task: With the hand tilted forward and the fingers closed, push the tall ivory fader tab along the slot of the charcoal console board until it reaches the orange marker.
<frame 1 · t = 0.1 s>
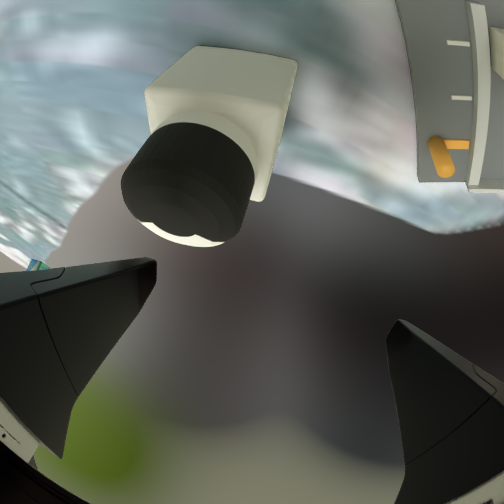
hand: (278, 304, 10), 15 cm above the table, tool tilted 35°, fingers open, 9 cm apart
milk carton: (44, 266, 83), on the table
console: (486, 43, 8), on the table
medicine bottle: (241, 90, 18), on the table
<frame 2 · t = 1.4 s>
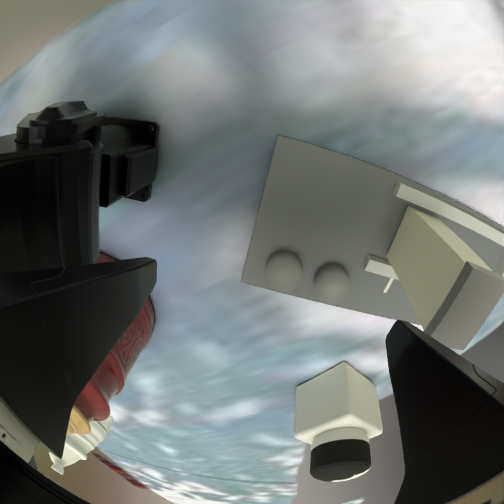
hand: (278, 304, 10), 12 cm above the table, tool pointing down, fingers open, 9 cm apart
honey pot: (87, 404, 45), on the table
console: (398, 253, 21), on the table
fader tab: (437, 268, 15), point 6 cm above the table, slide at 0.0 cm
canister: (107, 298, 28), on the table
medicine bottle: (336, 385, 30), on the table
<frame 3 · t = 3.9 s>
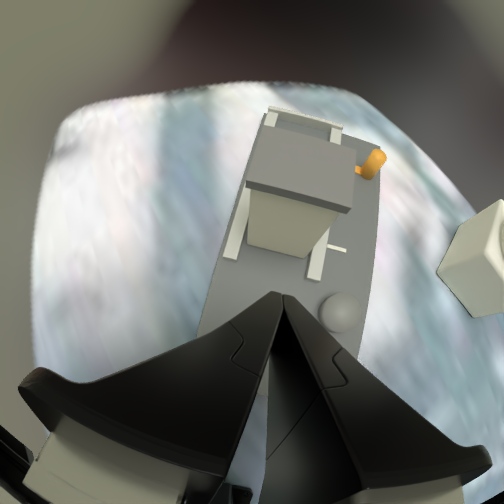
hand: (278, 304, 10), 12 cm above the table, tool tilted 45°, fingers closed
console: (302, 243, 22), on the table
fader tab: (290, 206, 17), point 6 cm above the table, slide at 0.0 cm
medicine bottle: (466, 271, 23), on the table
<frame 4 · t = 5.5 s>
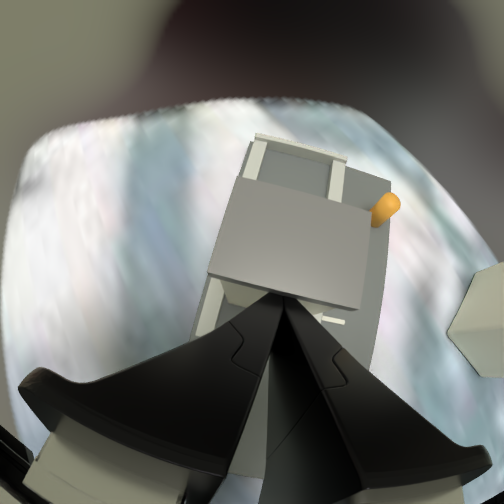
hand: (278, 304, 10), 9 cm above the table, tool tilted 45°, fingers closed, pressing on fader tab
console: (292, 312, 18), on the table
fader tab: (278, 272, 13), point 6 cm above the table, slide at 1.0 cm, touching gripper
medicine bottle: (478, 325, 19), on the table
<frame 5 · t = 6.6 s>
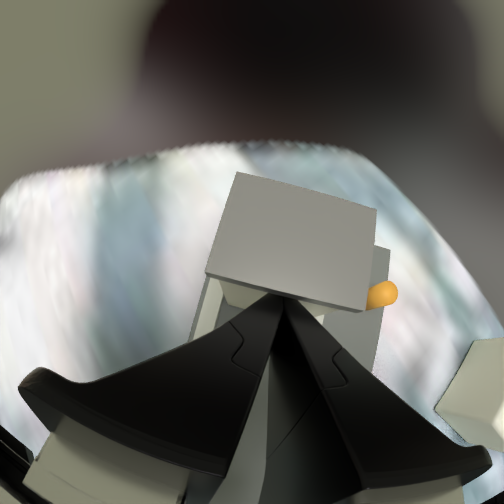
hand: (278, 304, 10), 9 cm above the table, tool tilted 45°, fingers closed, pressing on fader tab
console: (270, 403, 16), on the table
fader tab: (279, 273, 13), point 6 cm above the table, slide at 7.1 cm, touching gripper
medicine bottle: (470, 393, 16), on the table
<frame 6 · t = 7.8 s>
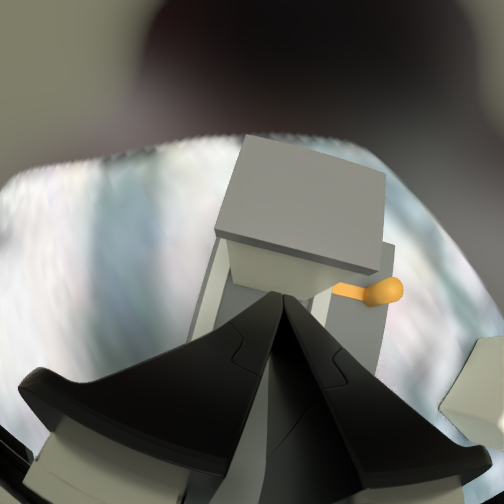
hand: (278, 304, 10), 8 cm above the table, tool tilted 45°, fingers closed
console: (272, 403, 16), on the table
fader tab: (286, 245, 13), point 6 cm above the table, slide at 8.2 cm
medicine bottle: (474, 392, 16), on the table
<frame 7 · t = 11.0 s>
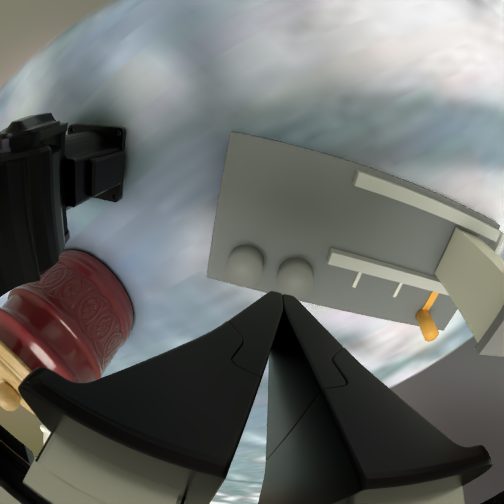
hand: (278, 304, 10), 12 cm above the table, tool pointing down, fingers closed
console: (366, 246, 21), on the table
fader tab: (483, 285, 15), point 6 cm above the table, slide at 8.2 cm
canister: (91, 295, 29), on the table
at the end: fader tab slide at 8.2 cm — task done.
